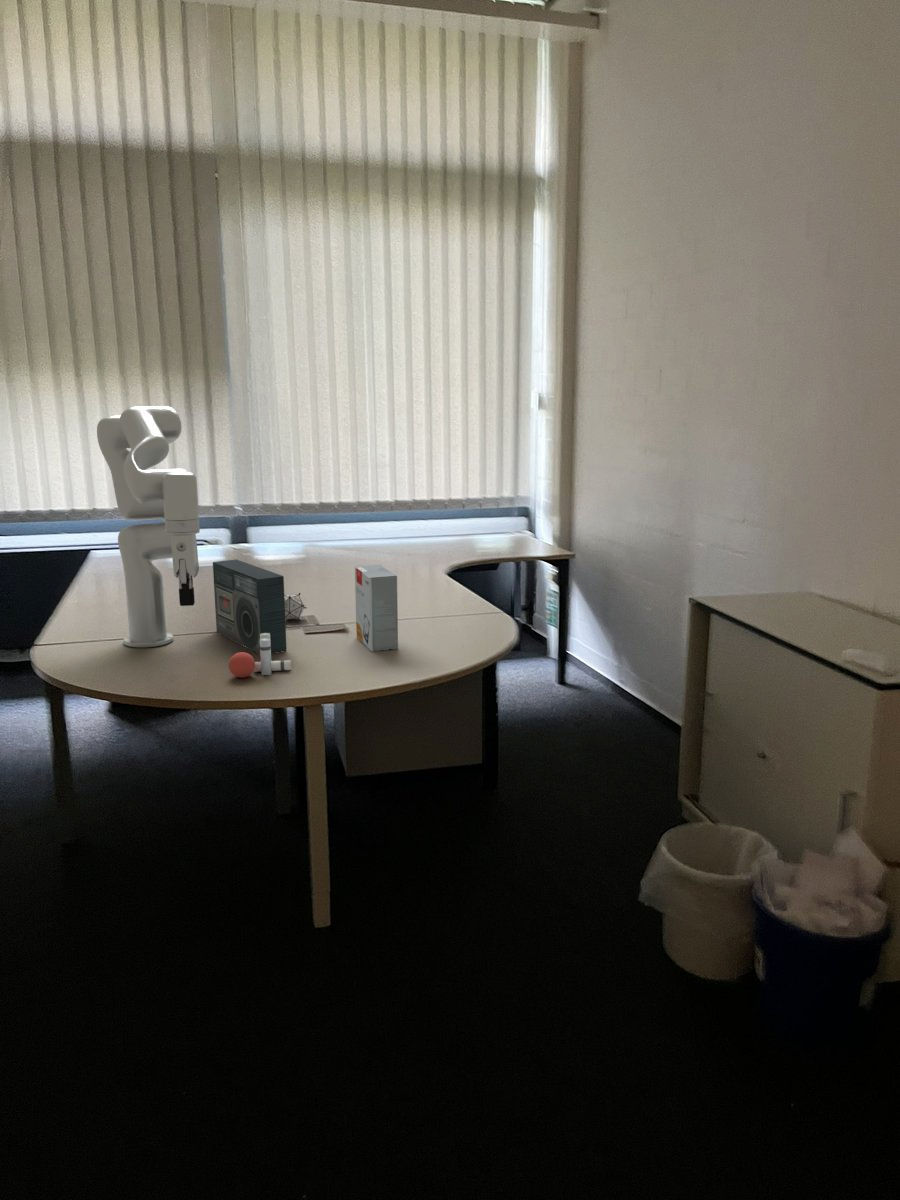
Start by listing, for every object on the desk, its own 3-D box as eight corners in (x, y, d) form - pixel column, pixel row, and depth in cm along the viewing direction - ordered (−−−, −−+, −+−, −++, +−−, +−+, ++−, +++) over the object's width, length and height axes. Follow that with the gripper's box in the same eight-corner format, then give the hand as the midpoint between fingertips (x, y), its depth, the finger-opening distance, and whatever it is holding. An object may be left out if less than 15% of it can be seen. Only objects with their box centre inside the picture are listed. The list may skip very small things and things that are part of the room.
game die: (297, 630, 265) (314, 602, 267) (293, 627, 257) (311, 598, 258) (271, 615, 266) (289, 586, 267) (266, 611, 257) (285, 582, 259)
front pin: (254, 659, 213) (290, 657, 215) (255, 666, 215) (290, 665, 216) (254, 666, 211) (290, 665, 213) (254, 674, 213) (290, 672, 214)
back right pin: (259, 673, 212) (257, 639, 210) (269, 672, 213) (267, 637, 211) (263, 676, 210) (261, 641, 208) (273, 674, 211) (271, 640, 209)
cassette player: (216, 632, 250) (212, 562, 245) (240, 628, 254) (236, 559, 249) (261, 656, 227) (258, 579, 222) (286, 651, 231) (283, 576, 226)
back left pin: (259, 667, 217) (258, 633, 215) (269, 665, 218) (267, 632, 216) (263, 670, 215) (262, 636, 213) (273, 668, 216) (271, 634, 214)
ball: (258, 672, 212) (234, 666, 213) (259, 650, 209) (235, 645, 210) (248, 685, 207) (224, 679, 208) (249, 663, 204) (224, 657, 205)
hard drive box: (355, 637, 244) (354, 566, 240) (382, 634, 247) (381, 564, 242) (370, 652, 230) (369, 576, 226) (399, 649, 233) (398, 574, 228)
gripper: (196, 530, 196) (201, 611, 200) (201, 521, 211) (206, 597, 215) (161, 531, 195) (166, 613, 199) (168, 522, 209) (174, 598, 213)
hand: (187, 604), depth 207 cm, fingers closed
